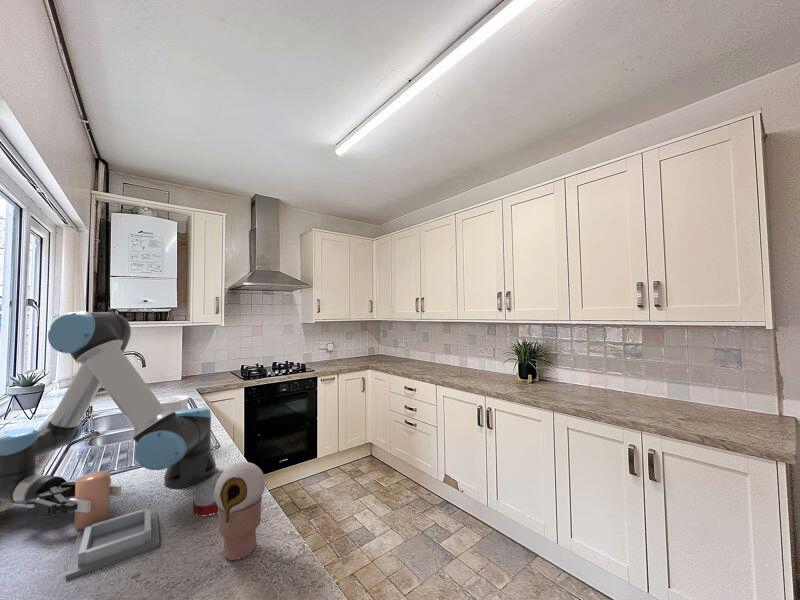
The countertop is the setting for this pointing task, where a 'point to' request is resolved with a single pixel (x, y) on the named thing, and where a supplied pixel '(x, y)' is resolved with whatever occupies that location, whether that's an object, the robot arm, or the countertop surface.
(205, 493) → the canned food
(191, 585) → the countertop surface
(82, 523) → the peach round cylinder
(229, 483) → the ice cream cone
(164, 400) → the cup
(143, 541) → the grey rectangular tray
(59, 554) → the countertop surface
